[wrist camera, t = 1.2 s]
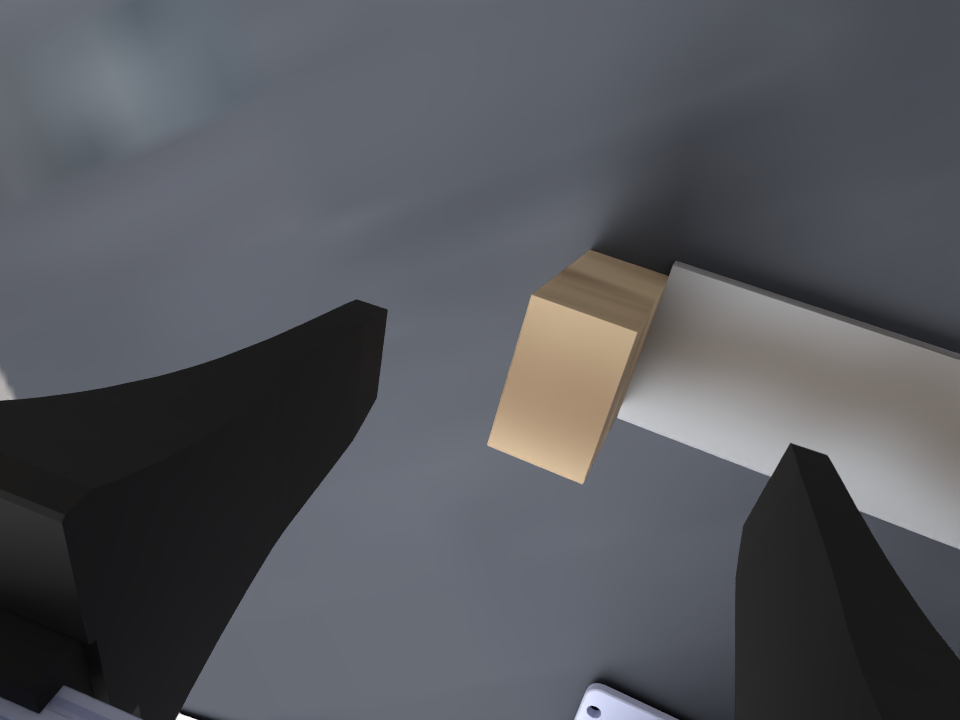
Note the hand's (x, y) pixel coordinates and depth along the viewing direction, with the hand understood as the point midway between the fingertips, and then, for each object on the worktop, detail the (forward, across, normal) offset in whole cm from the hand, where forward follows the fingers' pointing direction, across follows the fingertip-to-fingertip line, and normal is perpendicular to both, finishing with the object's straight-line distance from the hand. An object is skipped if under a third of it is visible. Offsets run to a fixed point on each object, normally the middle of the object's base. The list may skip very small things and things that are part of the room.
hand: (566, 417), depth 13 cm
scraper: (+9, -9, +4) cm, 14 cm away
